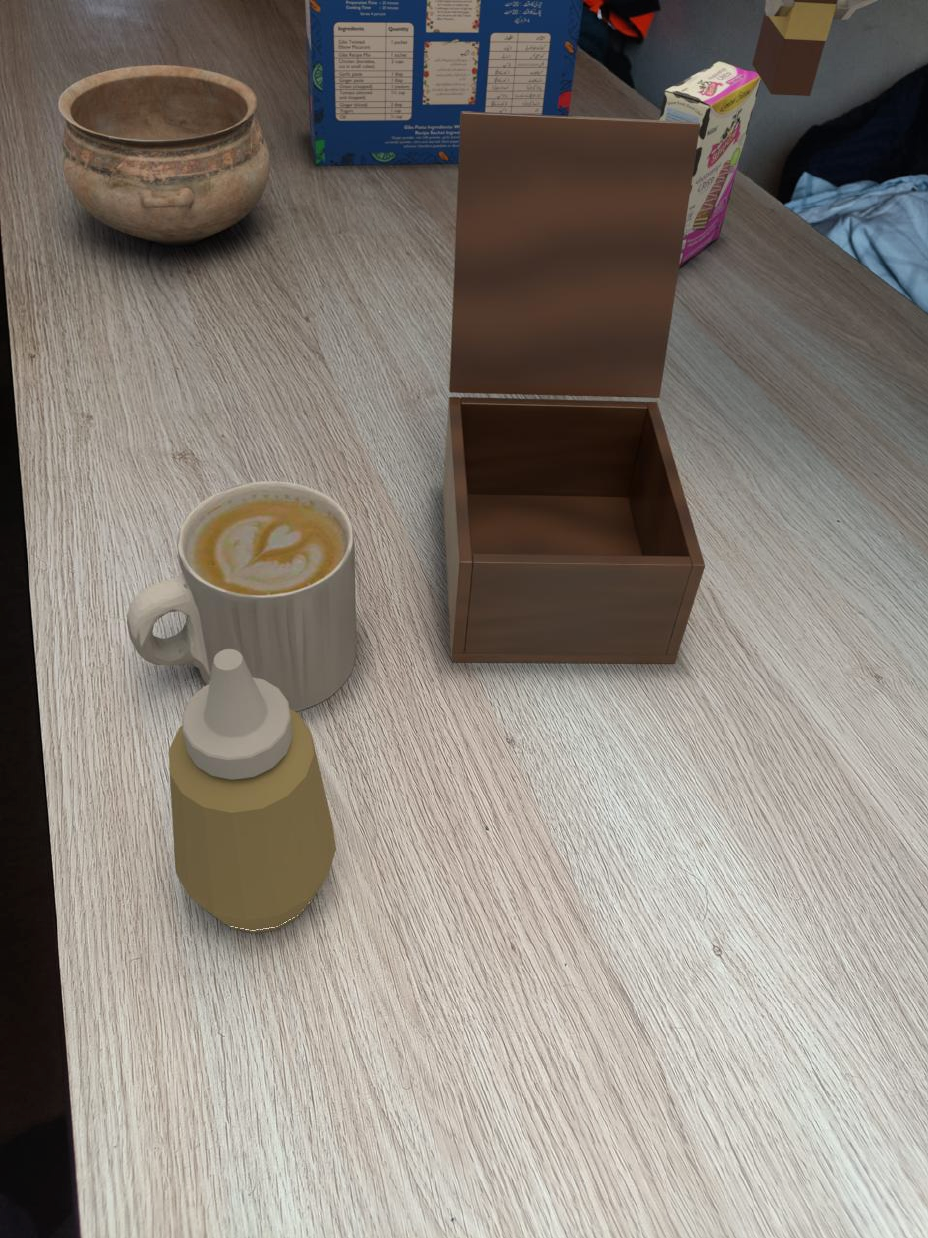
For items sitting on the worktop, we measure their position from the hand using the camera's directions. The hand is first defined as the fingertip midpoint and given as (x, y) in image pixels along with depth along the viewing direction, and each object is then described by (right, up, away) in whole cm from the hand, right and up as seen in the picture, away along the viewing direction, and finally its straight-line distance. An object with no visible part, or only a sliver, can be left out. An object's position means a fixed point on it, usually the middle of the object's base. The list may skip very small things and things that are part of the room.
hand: (805, 7), depth 76 cm
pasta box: (-28, +10, +46) cm, 55 cm away
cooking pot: (-53, -5, +29) cm, 60 cm away
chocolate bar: (0, -3, +5) cm, 6 cm away
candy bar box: (-3, -6, +33) cm, 34 cm away
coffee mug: (-38, -46, -9) cm, 60 cm away
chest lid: (-18, -21, -7) cm, 28 cm away
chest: (-18, -41, -2) cm, 45 cm away
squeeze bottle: (-35, -58, -19) cm, 70 cm away
